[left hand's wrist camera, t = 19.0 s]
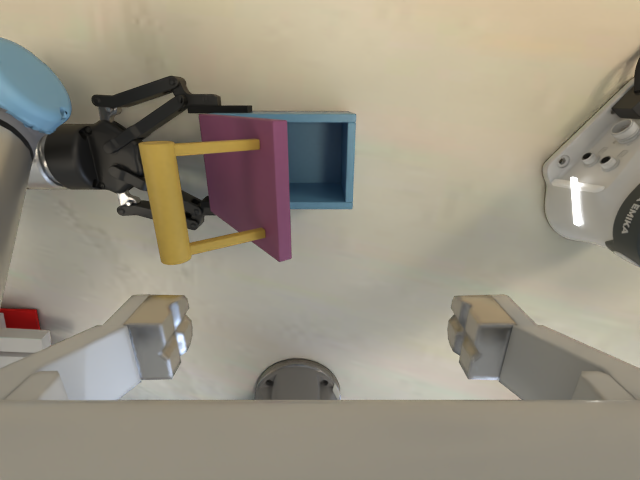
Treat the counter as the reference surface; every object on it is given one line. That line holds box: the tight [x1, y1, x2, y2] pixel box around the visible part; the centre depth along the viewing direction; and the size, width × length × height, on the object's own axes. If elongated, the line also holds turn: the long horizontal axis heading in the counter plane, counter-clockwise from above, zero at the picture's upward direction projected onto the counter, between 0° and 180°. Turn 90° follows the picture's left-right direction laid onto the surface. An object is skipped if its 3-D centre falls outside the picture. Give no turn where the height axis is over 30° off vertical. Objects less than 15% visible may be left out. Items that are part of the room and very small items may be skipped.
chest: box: [209, 111, 356, 209], centre depth 41 cm, size 15×10×10 cm, turn 90°
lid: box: [139, 114, 292, 265], centre depth 28 cm, size 16×10×9 cm
